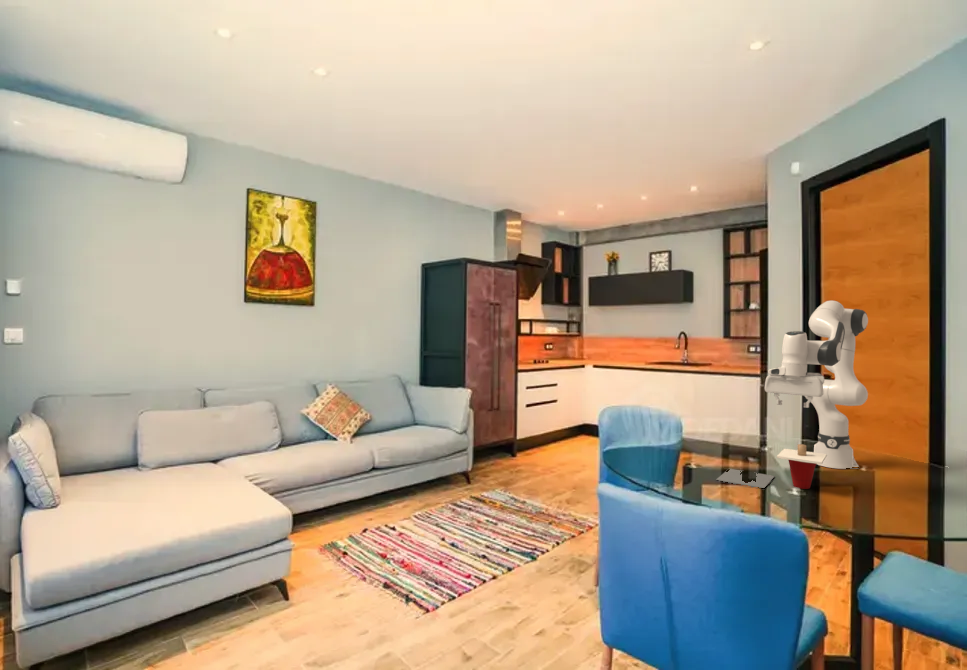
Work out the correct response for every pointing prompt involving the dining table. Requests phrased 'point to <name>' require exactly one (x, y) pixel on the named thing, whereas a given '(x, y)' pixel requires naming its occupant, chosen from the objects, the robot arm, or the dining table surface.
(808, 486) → the plastic cup
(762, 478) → the mat
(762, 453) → the dining table surface
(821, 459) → the lid
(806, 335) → the robot arm
